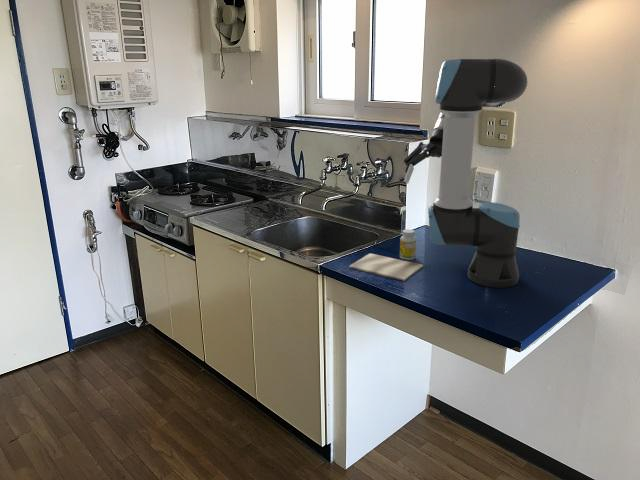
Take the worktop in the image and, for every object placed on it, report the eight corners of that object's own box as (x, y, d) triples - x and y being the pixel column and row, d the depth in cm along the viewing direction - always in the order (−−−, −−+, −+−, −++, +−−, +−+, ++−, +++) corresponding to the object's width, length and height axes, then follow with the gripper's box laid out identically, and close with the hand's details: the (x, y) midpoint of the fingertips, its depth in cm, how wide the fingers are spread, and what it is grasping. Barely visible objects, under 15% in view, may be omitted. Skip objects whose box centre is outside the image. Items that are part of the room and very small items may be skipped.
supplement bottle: (415, 260, 176) (417, 233, 173) (400, 260, 177) (401, 233, 174) (414, 254, 181) (415, 228, 178) (399, 254, 182) (400, 228, 179)
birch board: (422, 266, 171) (423, 264, 171) (404, 280, 160) (404, 279, 160) (369, 254, 182) (369, 253, 181) (349, 267, 171) (349, 265, 171)
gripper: (478, 143, 183) (461, 194, 176) (413, 138, 196) (394, 185, 190) (475, 130, 177) (456, 182, 171) (408, 125, 190) (388, 173, 184)
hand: (424, 183), depth 180 cm, fingers open, 13 cm apart
